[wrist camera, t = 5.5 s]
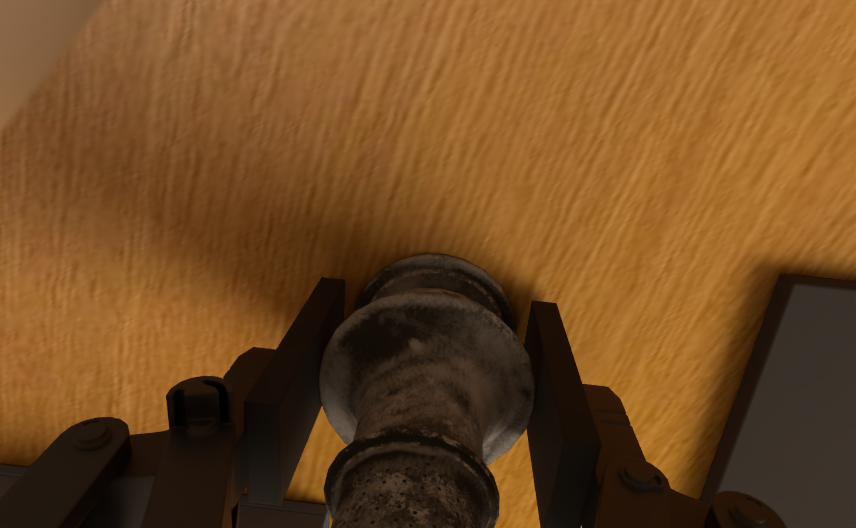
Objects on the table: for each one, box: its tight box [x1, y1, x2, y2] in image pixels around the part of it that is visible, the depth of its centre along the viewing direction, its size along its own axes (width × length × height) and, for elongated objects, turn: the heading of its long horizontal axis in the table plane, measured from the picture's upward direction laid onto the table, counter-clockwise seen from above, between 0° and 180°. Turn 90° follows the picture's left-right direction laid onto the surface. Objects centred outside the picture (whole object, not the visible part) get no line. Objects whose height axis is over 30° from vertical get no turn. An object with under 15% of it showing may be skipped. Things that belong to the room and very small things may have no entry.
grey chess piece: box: [319, 254, 536, 528], centre depth 13 cm, size 6×6×12 cm
